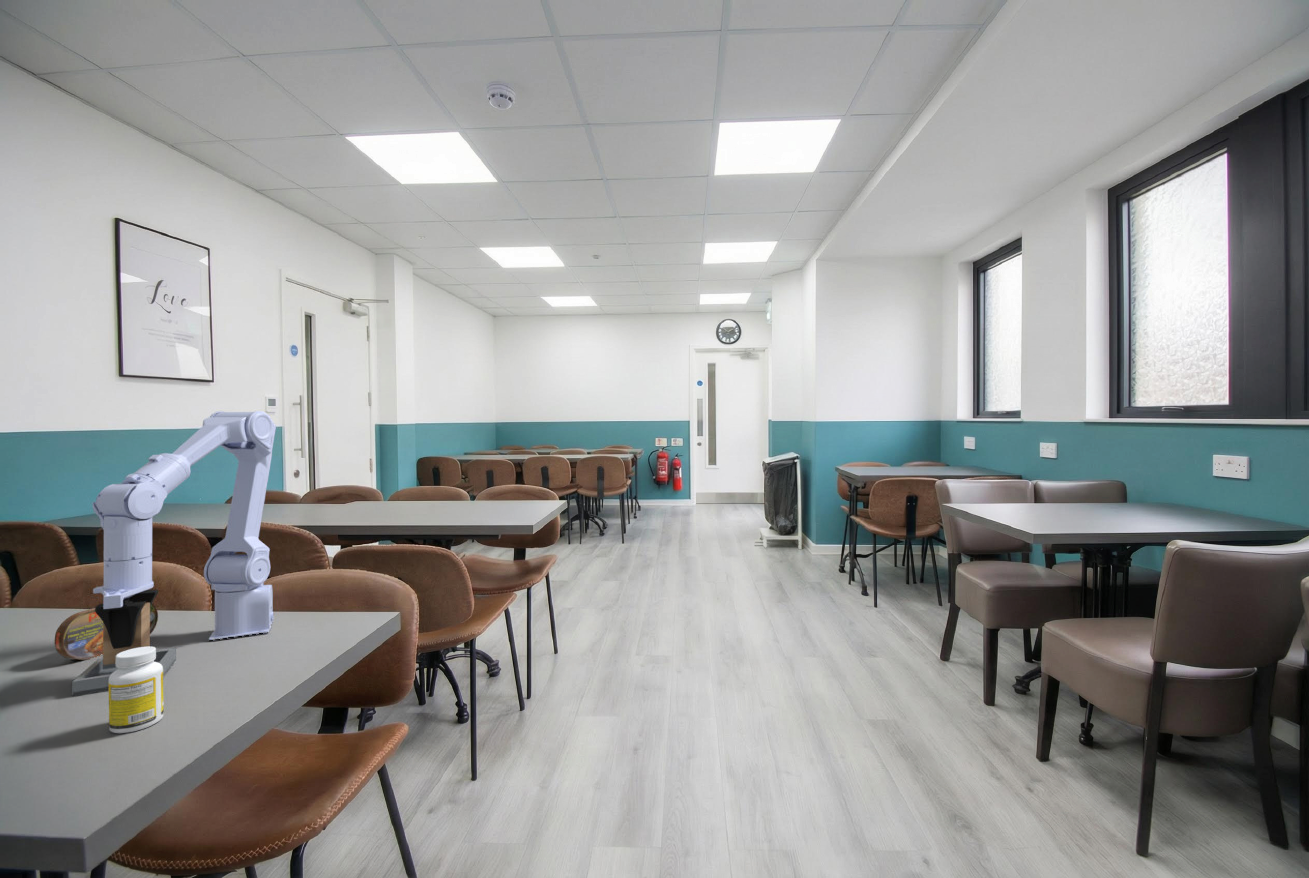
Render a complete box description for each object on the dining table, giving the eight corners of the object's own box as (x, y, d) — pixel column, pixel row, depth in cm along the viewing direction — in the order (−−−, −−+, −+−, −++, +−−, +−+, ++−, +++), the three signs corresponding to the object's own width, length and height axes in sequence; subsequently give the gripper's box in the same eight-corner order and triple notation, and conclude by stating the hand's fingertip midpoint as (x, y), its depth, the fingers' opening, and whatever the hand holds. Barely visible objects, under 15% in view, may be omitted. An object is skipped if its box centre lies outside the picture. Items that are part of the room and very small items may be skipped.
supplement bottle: (132, 715, 78) (132, 644, 78) (173, 713, 78) (173, 643, 78) (96, 735, 72) (96, 659, 72) (141, 733, 73) (141, 658, 73)
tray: (176, 660, 97) (176, 647, 97) (159, 682, 88) (159, 668, 88) (97, 672, 92) (97, 658, 92) (72, 696, 83) (72, 681, 83)
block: (149, 650, 93) (149, 602, 93) (141, 659, 89) (141, 609, 89) (113, 655, 91) (113, 606, 91) (103, 665, 87) (103, 613, 87)
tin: (64, 667, 94) (64, 617, 94) (50, 666, 95) (50, 616, 95) (159, 636, 109) (159, 593, 109) (146, 635, 110) (146, 592, 110)
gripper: (111, 552, 95) (110, 632, 95) (75, 569, 82) (75, 662, 82) (165, 548, 98) (165, 626, 98) (139, 564, 85) (138, 653, 85)
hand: (128, 642), depth 90 cm, fingers closed on block, 4 cm apart
